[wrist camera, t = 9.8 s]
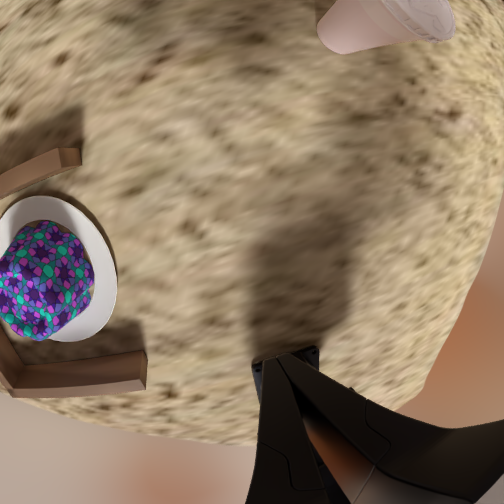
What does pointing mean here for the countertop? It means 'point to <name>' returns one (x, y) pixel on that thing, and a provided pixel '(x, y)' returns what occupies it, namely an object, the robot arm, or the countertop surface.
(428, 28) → the smoothie
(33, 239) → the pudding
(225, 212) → the countertop surface
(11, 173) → the bay
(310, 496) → the robot arm
